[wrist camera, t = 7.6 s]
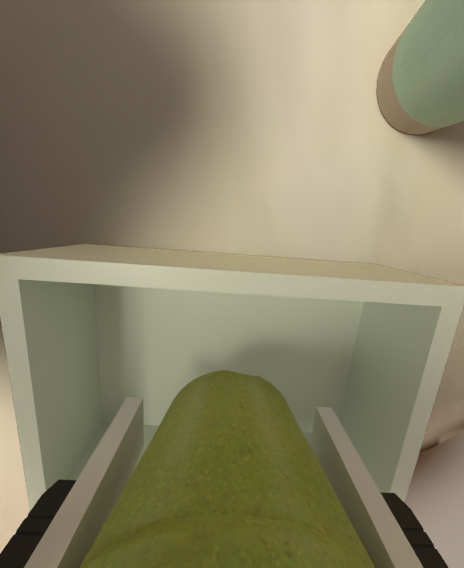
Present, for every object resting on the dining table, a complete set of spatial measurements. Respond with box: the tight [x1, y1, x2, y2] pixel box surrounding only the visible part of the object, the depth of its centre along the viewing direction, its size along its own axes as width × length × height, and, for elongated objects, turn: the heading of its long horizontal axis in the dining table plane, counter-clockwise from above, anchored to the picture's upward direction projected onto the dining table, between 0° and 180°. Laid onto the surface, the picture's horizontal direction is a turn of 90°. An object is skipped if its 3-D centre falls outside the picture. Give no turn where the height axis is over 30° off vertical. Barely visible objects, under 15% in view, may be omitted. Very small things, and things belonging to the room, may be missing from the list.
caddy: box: [0, 244, 464, 511], centre depth 16 cm, size 21×15×7 cm
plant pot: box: [80, 370, 375, 568], centre depth 8 cm, size 9×9×9 cm
